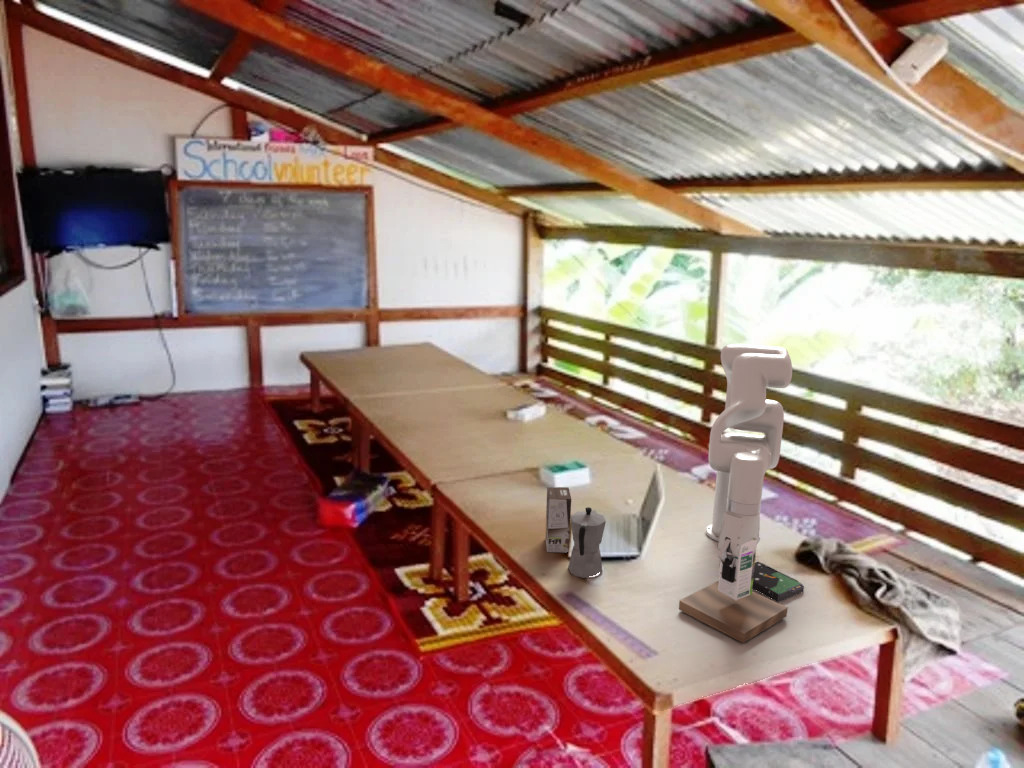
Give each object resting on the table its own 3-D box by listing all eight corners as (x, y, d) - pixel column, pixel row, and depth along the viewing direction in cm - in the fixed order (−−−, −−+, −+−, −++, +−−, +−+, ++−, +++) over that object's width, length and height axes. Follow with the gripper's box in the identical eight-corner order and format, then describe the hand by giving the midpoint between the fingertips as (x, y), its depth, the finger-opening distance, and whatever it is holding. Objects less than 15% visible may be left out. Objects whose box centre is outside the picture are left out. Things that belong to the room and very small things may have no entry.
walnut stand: (722, 588, 198) (723, 578, 198) (786, 618, 185) (787, 607, 184) (678, 611, 187) (679, 600, 186) (742, 645, 174) (744, 633, 173)
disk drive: (731, 580, 204) (778, 604, 192) (732, 570, 204) (779, 594, 192) (756, 570, 210) (804, 593, 198) (757, 560, 209) (805, 583, 198)
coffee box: (569, 553, 216) (571, 499, 212) (546, 552, 216) (548, 498, 212) (567, 538, 225) (569, 486, 221) (544, 538, 225) (546, 486, 221)
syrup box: (736, 601, 181) (741, 544, 177) (716, 590, 186) (722, 534, 182) (752, 595, 184) (758, 538, 180) (732, 584, 189) (738, 529, 185)
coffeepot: (573, 556, 214) (576, 496, 209) (607, 562, 211) (610, 500, 207) (560, 583, 199) (563, 518, 195) (596, 589, 197) (600, 523, 192)
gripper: (750, 492, 187) (743, 559, 192) (707, 509, 177) (700, 580, 181) (778, 501, 182) (770, 571, 186) (735, 520, 171) (728, 593, 175)
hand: (736, 575), depth 184 cm, fingers closed on syrup box, 6 cm apart
